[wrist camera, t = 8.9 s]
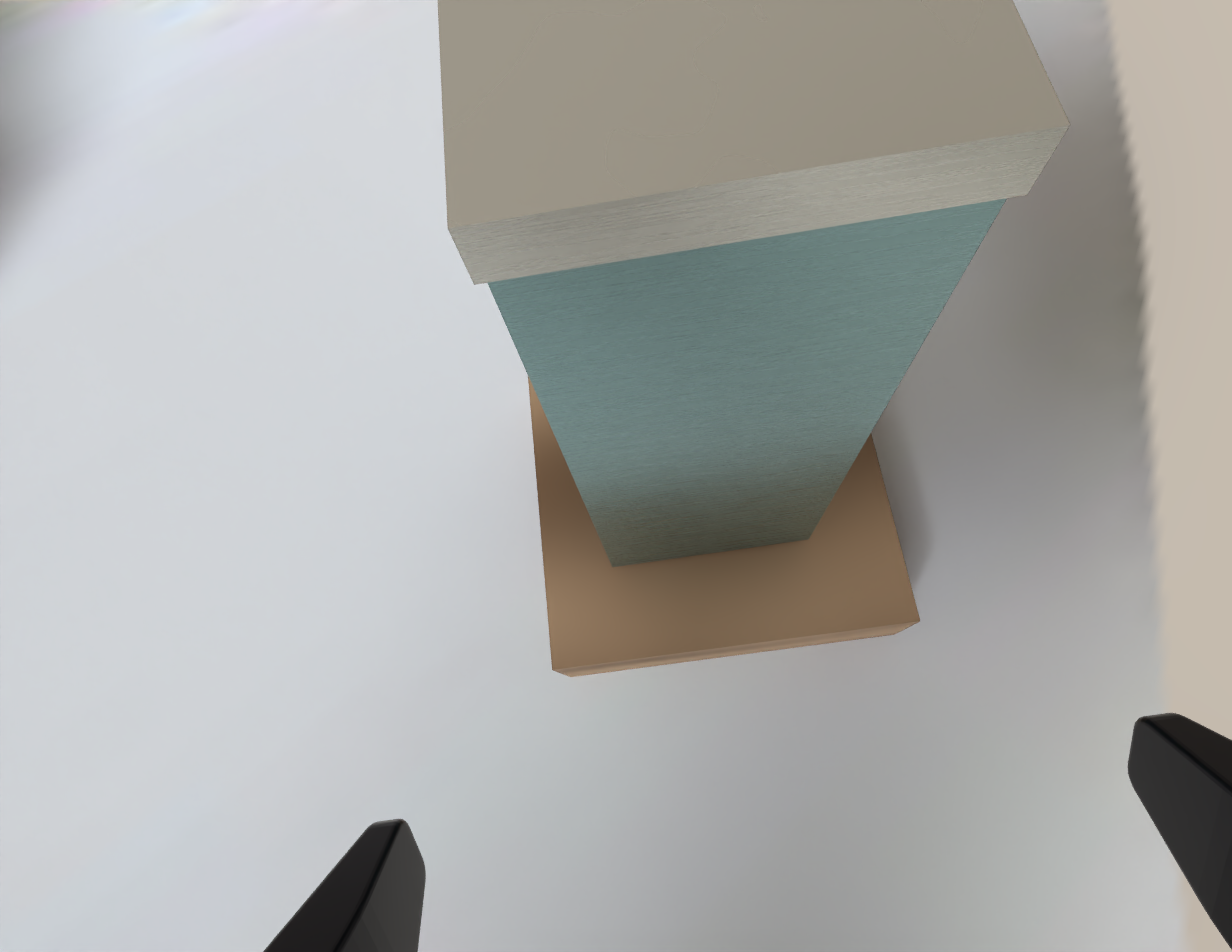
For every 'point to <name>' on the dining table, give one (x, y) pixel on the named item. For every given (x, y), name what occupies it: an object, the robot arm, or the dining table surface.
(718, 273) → the tea tin
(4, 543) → the dining table surface
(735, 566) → the walnut block
